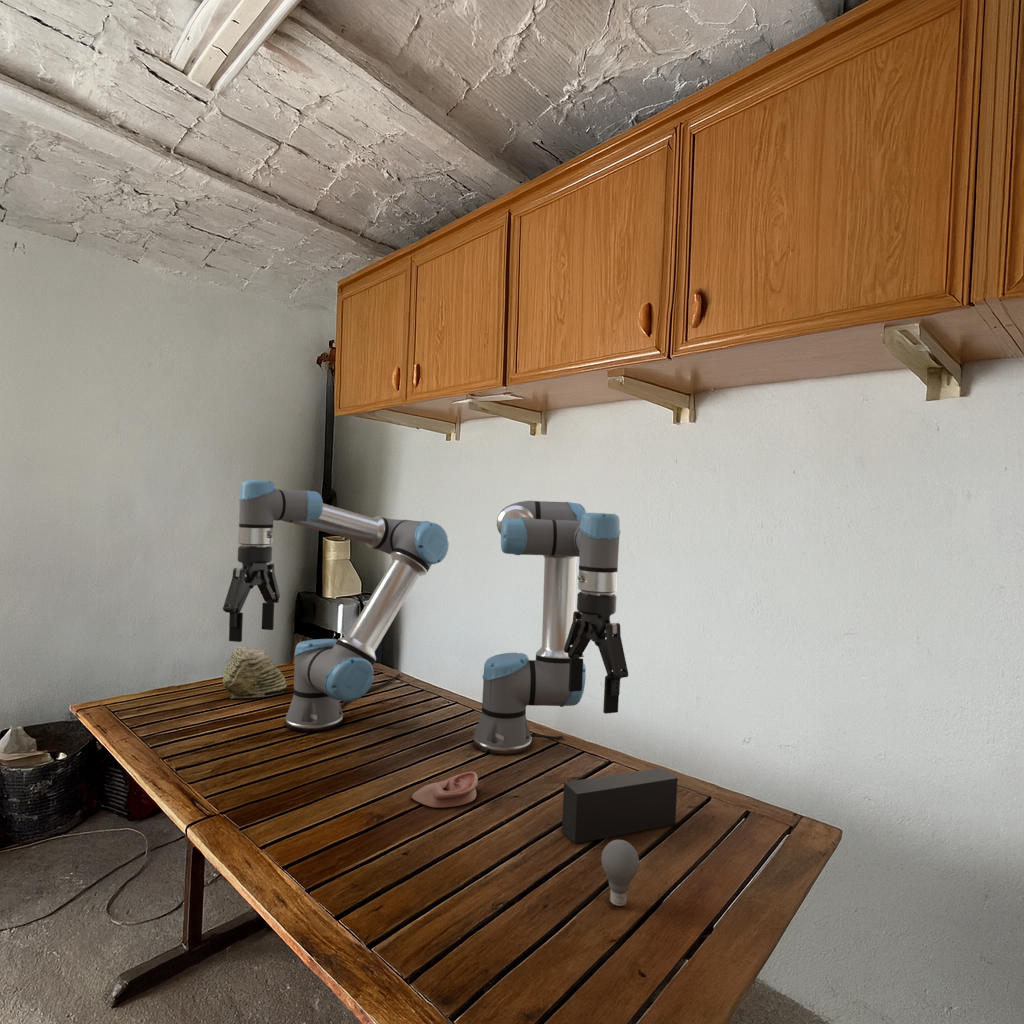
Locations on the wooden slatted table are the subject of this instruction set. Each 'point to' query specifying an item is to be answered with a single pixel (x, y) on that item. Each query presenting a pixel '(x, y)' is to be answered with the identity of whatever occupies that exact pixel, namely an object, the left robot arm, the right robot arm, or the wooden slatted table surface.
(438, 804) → the anatomical model
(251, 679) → the fossil
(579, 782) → the bar
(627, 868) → the light bulb
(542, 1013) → the wooden slatted table surface
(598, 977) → the wooden slatted table surface
